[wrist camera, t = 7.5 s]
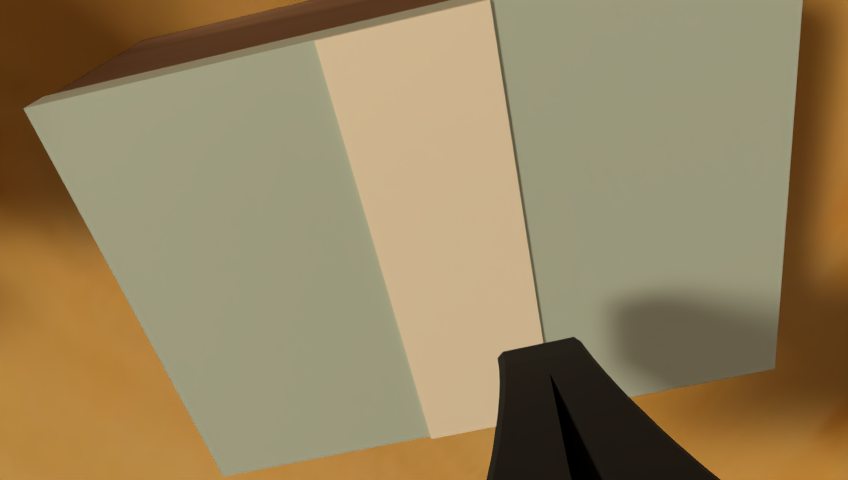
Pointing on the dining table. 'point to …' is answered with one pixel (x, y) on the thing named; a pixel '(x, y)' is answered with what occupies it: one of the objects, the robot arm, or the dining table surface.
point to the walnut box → (241, 35)
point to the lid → (442, 210)
